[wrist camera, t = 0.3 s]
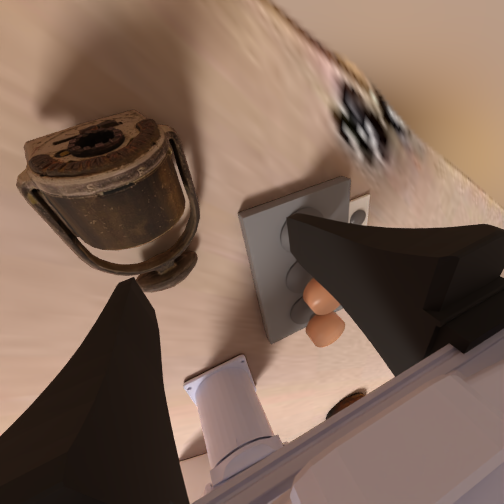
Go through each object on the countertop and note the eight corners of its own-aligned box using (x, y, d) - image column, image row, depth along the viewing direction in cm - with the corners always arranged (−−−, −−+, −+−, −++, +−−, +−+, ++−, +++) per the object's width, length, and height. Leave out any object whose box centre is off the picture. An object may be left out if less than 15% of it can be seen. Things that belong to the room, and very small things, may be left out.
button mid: (330, 289, 27) (346, 304, 25) (298, 304, 26) (313, 321, 24) (330, 260, 25) (348, 275, 23) (296, 276, 24) (311, 292, 22)
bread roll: (334, 400, 52) (352, 424, 48) (365, 380, 58) (384, 400, 54) (316, 427, 57) (332, 451, 54) (347, 407, 63) (363, 426, 60)
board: (337, 302, 34) (345, 309, 33) (266, 337, 32) (272, 346, 31) (342, 175, 24) (353, 179, 23) (237, 213, 21) (244, 219, 20)
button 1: (329, 320, 30) (344, 336, 28) (301, 335, 30) (314, 352, 27) (330, 298, 28) (345, 314, 26) (299, 313, 27) (313, 330, 25)
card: (359, 276, 33) (362, 278, 33) (341, 285, 33) (343, 287, 32) (368, 193, 26) (371, 195, 26) (345, 202, 26) (348, 204, 25)
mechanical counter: (246, 119, 13) (-32, 67, 7) (230, 316, 18) (57, 379, 12) (190, 120, 18) (1, 90, 12) (189, 273, 23) (54, 303, 17)
